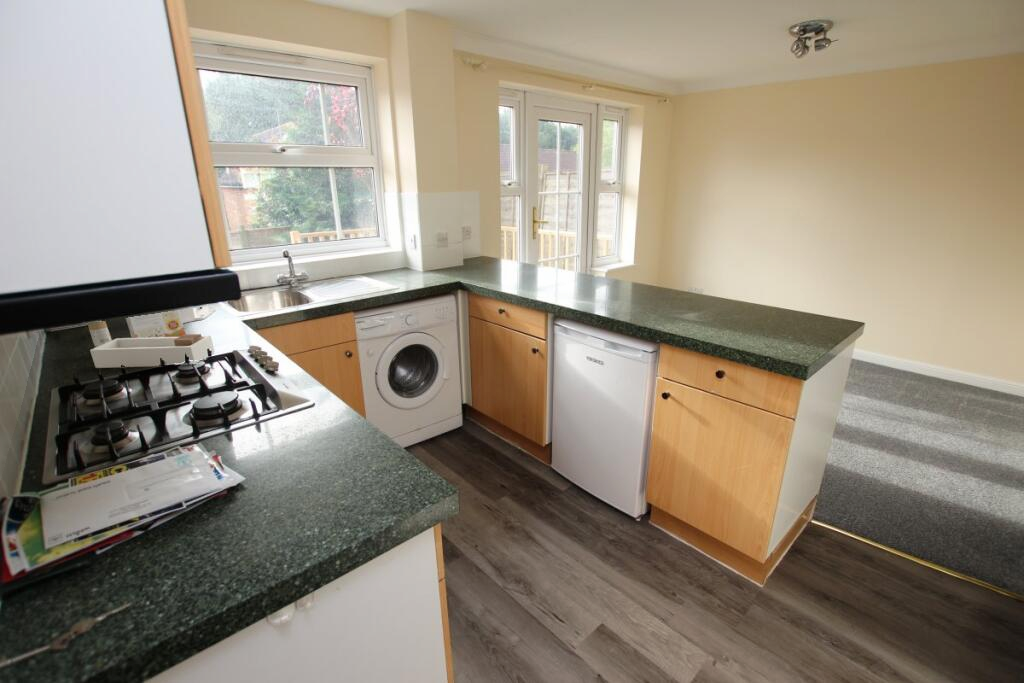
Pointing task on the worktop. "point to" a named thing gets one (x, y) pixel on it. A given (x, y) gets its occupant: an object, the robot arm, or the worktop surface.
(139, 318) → the cracker box
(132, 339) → the channel
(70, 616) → the worktop surface
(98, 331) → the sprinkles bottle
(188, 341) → the walnut block
